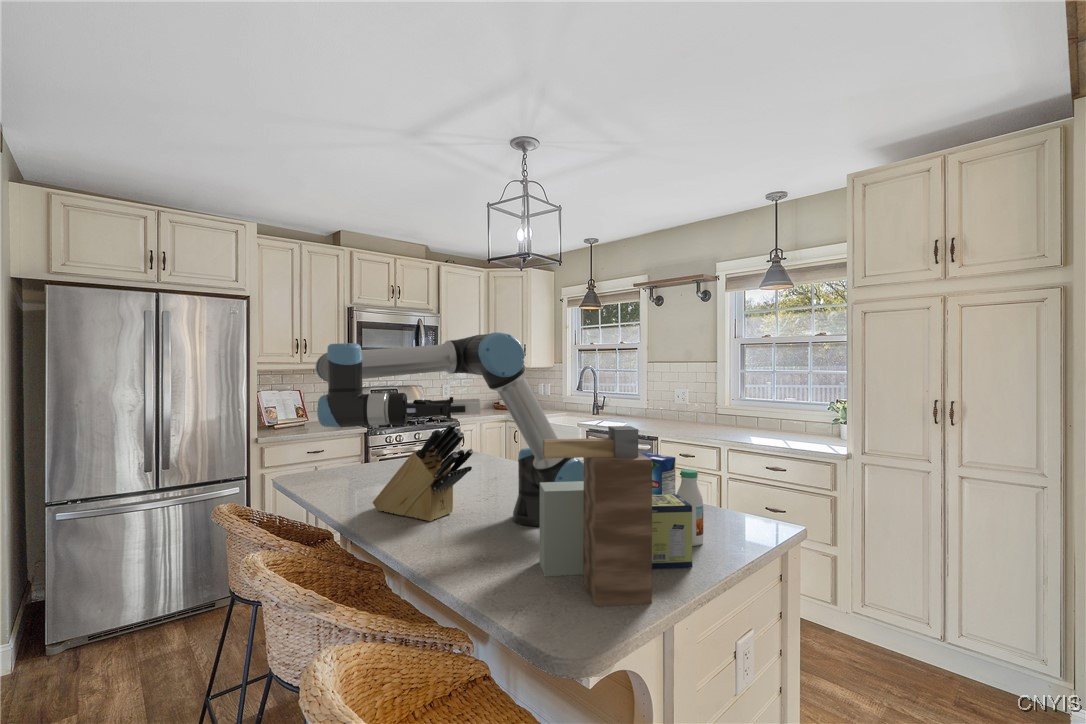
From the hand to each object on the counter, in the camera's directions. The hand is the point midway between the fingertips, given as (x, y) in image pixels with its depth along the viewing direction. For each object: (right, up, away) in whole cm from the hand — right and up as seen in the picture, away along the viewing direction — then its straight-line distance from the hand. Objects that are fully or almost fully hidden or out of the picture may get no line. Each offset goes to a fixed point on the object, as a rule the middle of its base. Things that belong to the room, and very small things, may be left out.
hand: (480, 406), depth 123 cm
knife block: (-25, -40, +46) cm, 65 cm away
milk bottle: (+56, -40, +20) cm, 72 cm away
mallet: (+25, -10, -12) cm, 30 cm away
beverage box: (+49, -40, +31) cm, 70 cm away
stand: (+31, -40, -11) cm, 52 cm away
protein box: (+44, -40, +7) cm, 60 cm away
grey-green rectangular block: (+21, -40, +2) cm, 45 cm away
